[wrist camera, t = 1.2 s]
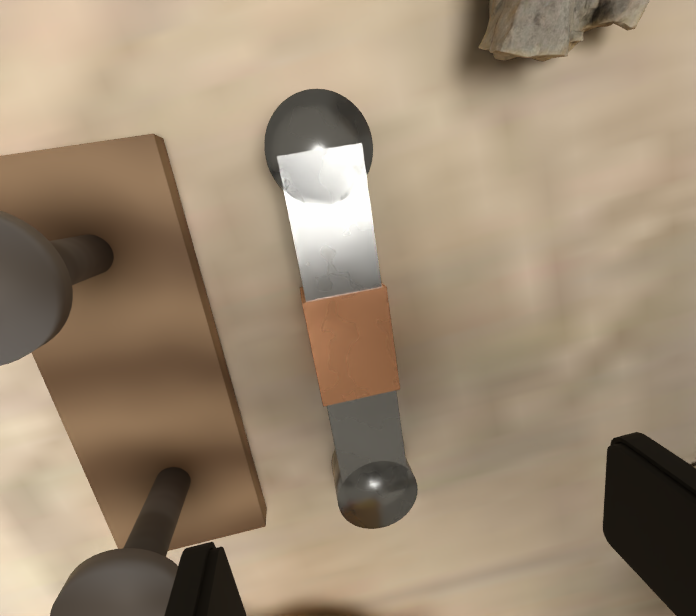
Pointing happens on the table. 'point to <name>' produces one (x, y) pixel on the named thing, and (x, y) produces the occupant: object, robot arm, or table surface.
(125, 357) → the rack
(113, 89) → the table surface
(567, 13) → the rock
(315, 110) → the two-ball handle bar
